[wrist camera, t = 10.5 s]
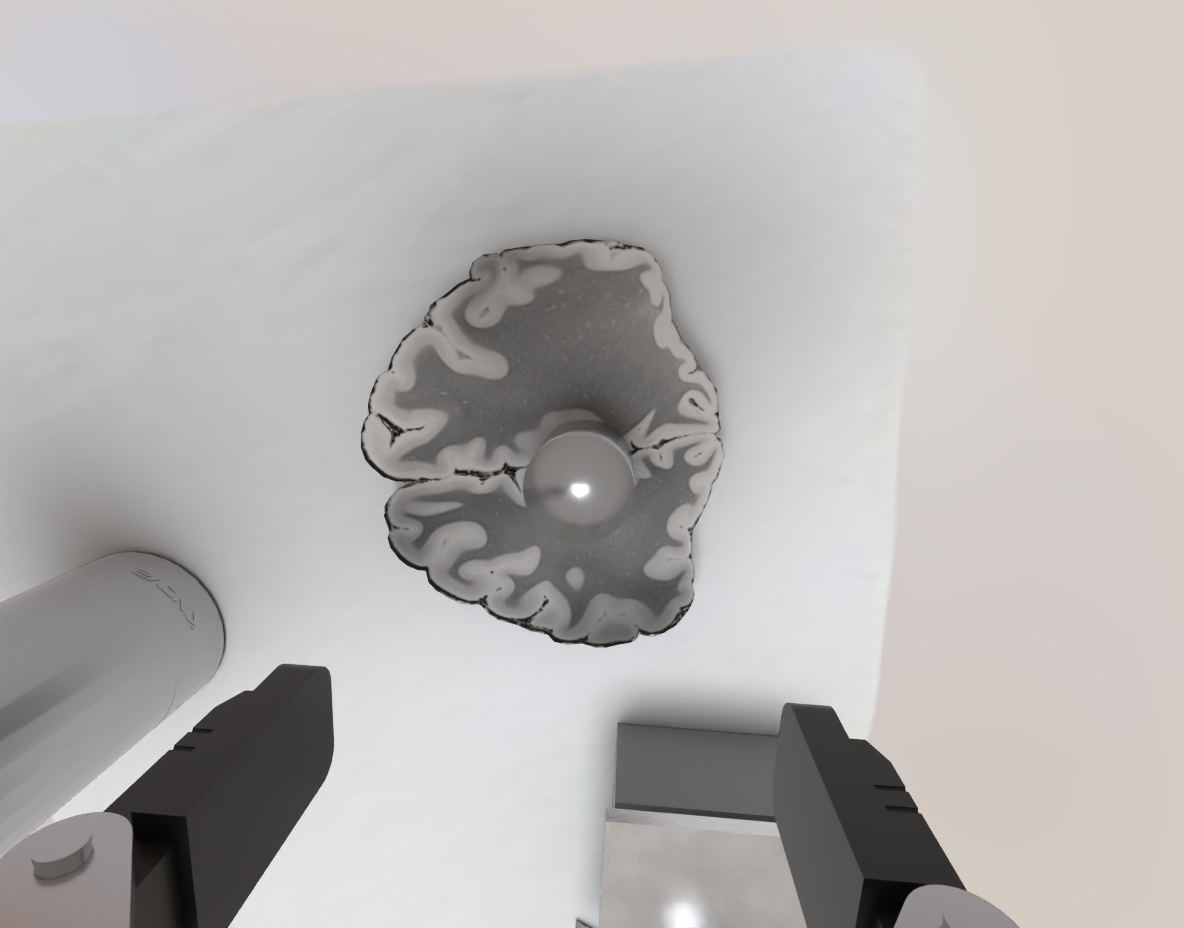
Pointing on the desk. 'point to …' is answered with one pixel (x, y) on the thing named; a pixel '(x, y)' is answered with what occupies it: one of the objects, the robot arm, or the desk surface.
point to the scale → (695, 772)
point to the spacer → (580, 482)
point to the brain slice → (521, 425)
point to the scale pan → (694, 873)
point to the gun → (580, 925)
